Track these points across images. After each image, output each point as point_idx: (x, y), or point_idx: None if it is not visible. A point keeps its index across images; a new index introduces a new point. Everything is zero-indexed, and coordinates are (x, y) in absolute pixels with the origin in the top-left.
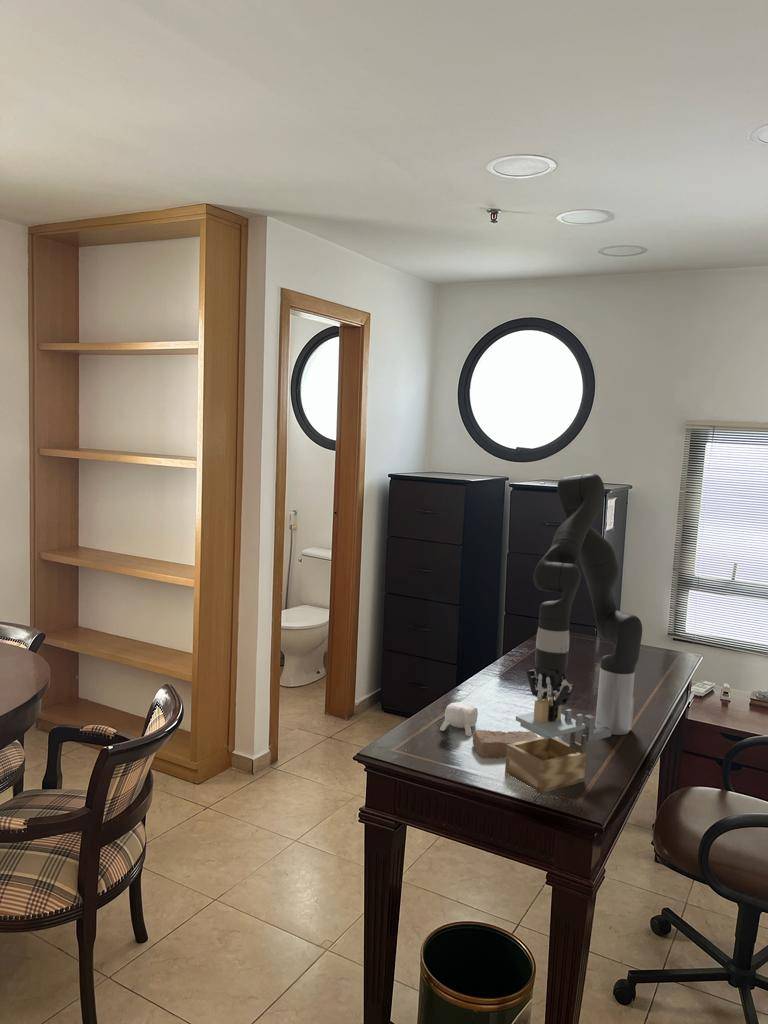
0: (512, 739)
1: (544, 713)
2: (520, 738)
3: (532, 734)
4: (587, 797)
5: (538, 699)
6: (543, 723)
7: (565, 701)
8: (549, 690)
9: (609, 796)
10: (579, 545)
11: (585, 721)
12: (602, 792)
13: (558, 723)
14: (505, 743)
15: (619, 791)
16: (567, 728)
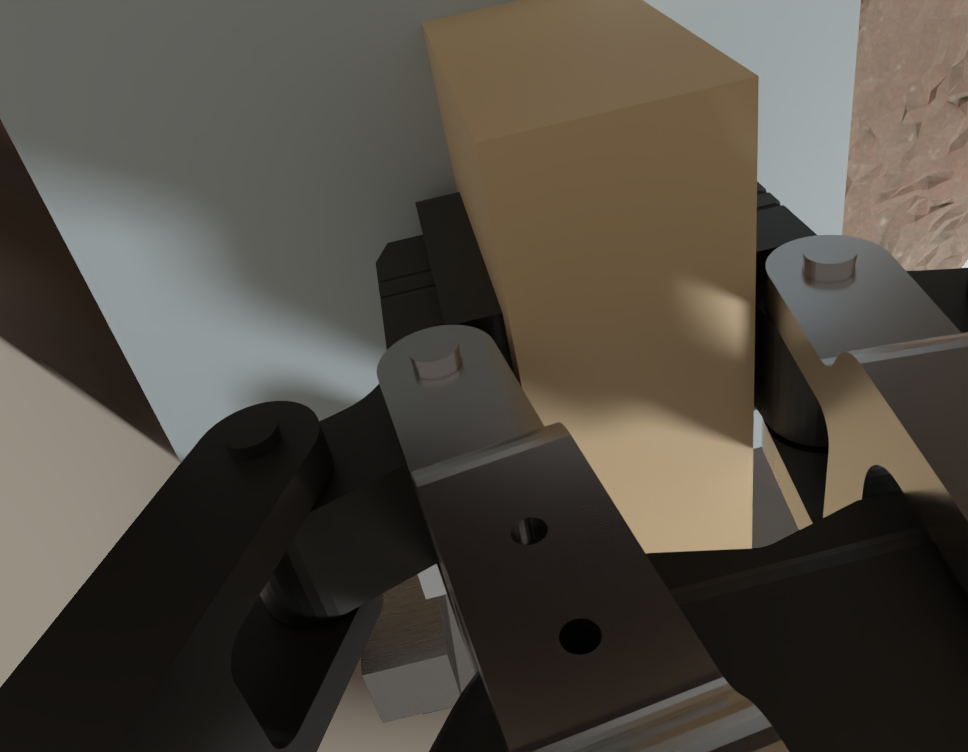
0: (943, 10)
1: (459, 145)
2: (916, 100)
3: (911, 240)
4: (9, 153)
5: (820, 247)
6: (385, 49)
7: (248, 629)
8: (522, 548)
9: (26, 313)
10: None
11: (416, 611)
12: (93, 301)
13: (336, 291)
14: None
15: (103, 407)
16: (114, 318)
